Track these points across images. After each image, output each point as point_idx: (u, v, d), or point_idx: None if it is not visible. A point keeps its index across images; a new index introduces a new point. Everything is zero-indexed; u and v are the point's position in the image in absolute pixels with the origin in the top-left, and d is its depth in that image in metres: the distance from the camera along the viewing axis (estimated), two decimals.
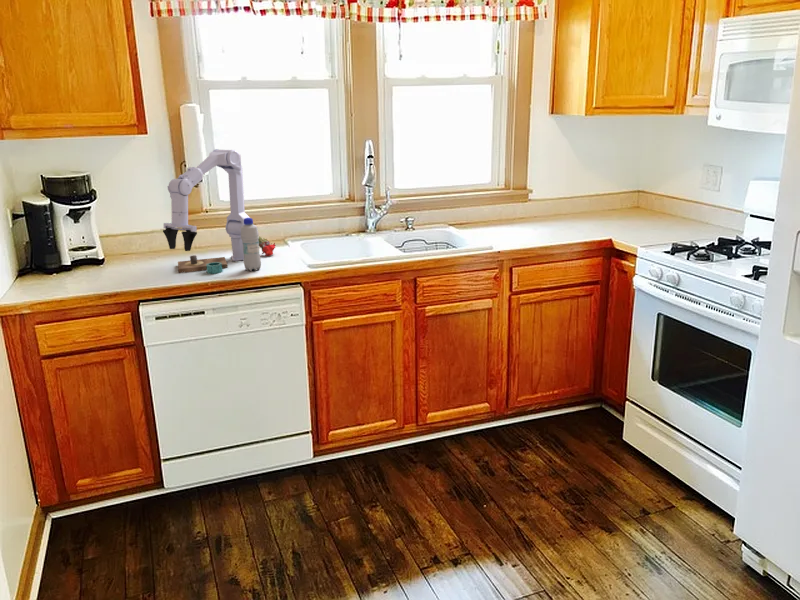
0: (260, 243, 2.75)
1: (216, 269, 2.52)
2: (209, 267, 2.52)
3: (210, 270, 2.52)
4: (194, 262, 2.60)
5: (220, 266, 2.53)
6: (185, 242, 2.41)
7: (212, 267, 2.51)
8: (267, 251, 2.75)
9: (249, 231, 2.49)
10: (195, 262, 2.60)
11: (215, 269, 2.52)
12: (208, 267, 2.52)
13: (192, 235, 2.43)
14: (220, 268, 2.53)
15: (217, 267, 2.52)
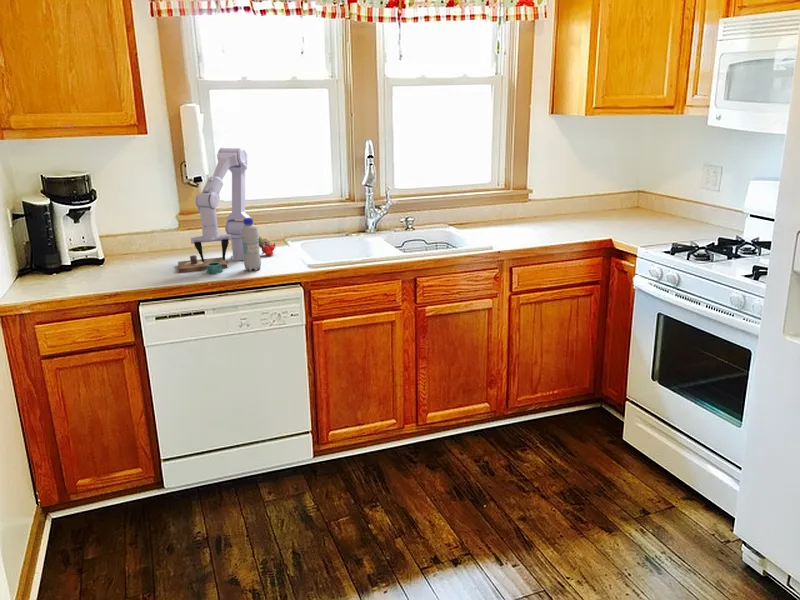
0: (260, 243, 2.75)
1: (216, 269, 2.52)
2: (209, 267, 2.52)
3: (210, 270, 2.52)
4: (194, 262, 2.60)
5: (220, 266, 2.53)
6: (224, 251, 2.52)
7: (212, 267, 2.51)
8: (267, 251, 2.75)
9: (249, 231, 2.49)
10: (195, 262, 2.60)
11: (215, 269, 2.52)
12: (208, 267, 2.52)
13: None
14: (220, 268, 2.53)
15: (217, 267, 2.52)
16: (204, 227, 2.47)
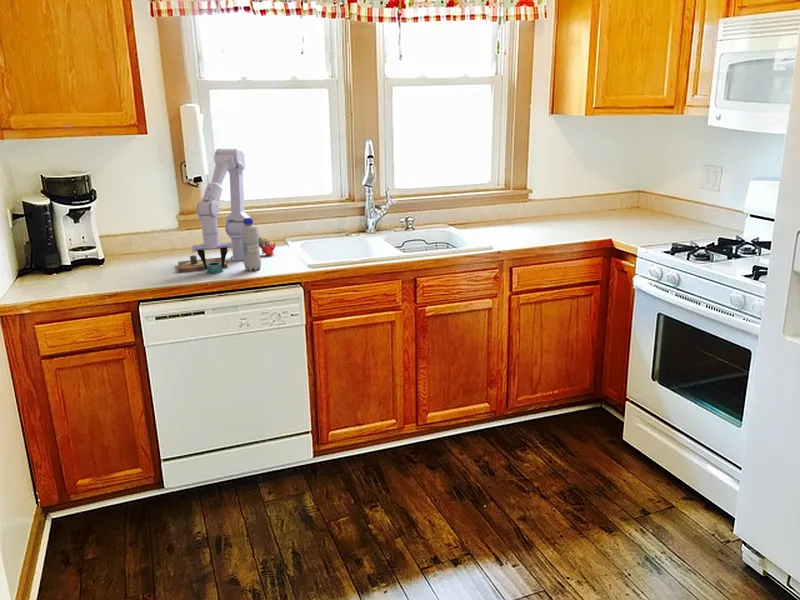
0: (260, 243, 2.75)
1: (216, 269, 2.52)
2: (209, 267, 2.52)
3: (210, 270, 2.52)
4: (194, 262, 2.60)
5: (220, 266, 2.53)
6: (223, 259, 2.53)
7: (212, 267, 2.51)
8: (267, 251, 2.75)
9: (249, 231, 2.49)
10: (195, 262, 2.60)
11: (215, 269, 2.52)
12: (208, 267, 2.52)
13: None
14: (220, 268, 2.53)
15: (217, 267, 2.52)
16: (205, 235, 2.48)
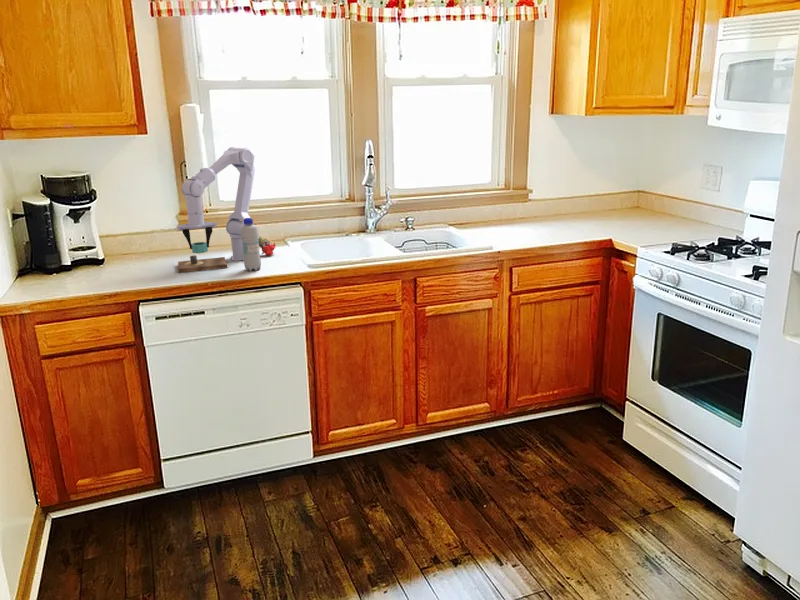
0: (260, 243, 2.75)
1: (201, 248, 2.54)
2: (194, 246, 2.54)
3: (195, 249, 2.54)
4: (194, 262, 2.60)
5: (205, 245, 2.55)
6: (208, 239, 2.55)
7: (197, 246, 2.53)
8: (267, 251, 2.75)
9: (249, 231, 2.49)
10: (195, 262, 2.60)
11: (200, 248, 2.54)
12: (193, 246, 2.54)
13: None
14: (205, 248, 2.55)
15: (202, 246, 2.54)
16: (190, 215, 2.50)
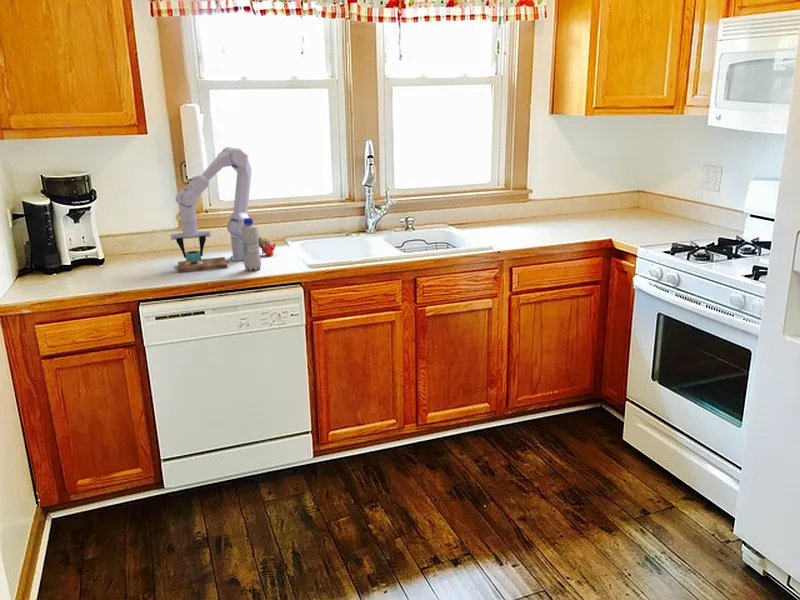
0: (260, 243, 2.75)
1: (195, 257, 2.58)
2: (188, 255, 2.57)
3: (189, 258, 2.58)
4: (194, 262, 2.60)
5: (199, 254, 2.59)
6: (202, 248, 2.59)
7: (191, 255, 2.57)
8: (267, 251, 2.75)
9: (249, 231, 2.49)
10: (195, 262, 2.60)
11: (194, 257, 2.58)
12: (187, 255, 2.58)
13: None
14: (199, 256, 2.59)
15: (196, 255, 2.58)
16: (183, 224, 2.54)
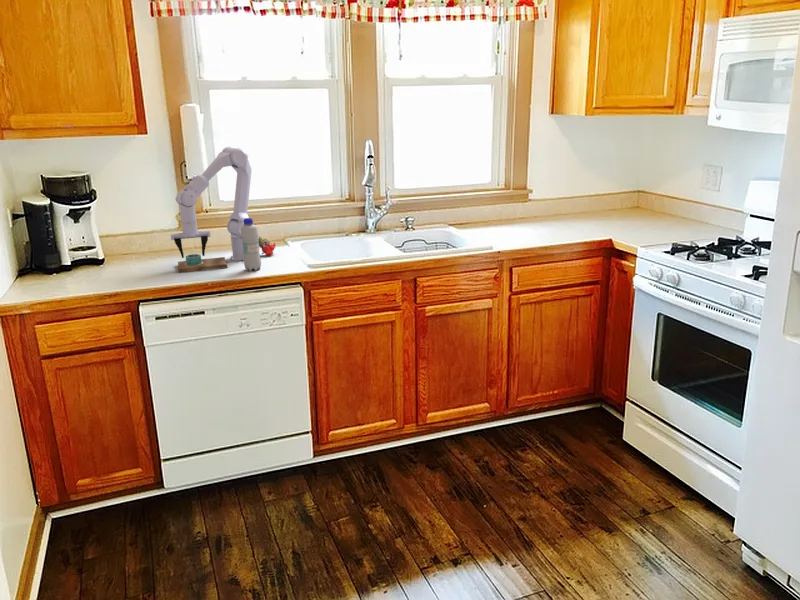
0: (260, 243, 2.75)
1: (195, 261, 2.58)
2: (188, 259, 2.58)
3: (189, 262, 2.58)
4: None
5: (199, 258, 2.59)
6: (204, 248, 2.59)
7: (191, 259, 2.58)
8: (267, 251, 2.75)
9: (249, 231, 2.49)
10: None
11: (194, 261, 2.58)
12: (187, 259, 2.58)
13: None
14: (199, 260, 2.60)
15: (196, 259, 2.58)
16: (183, 224, 2.54)
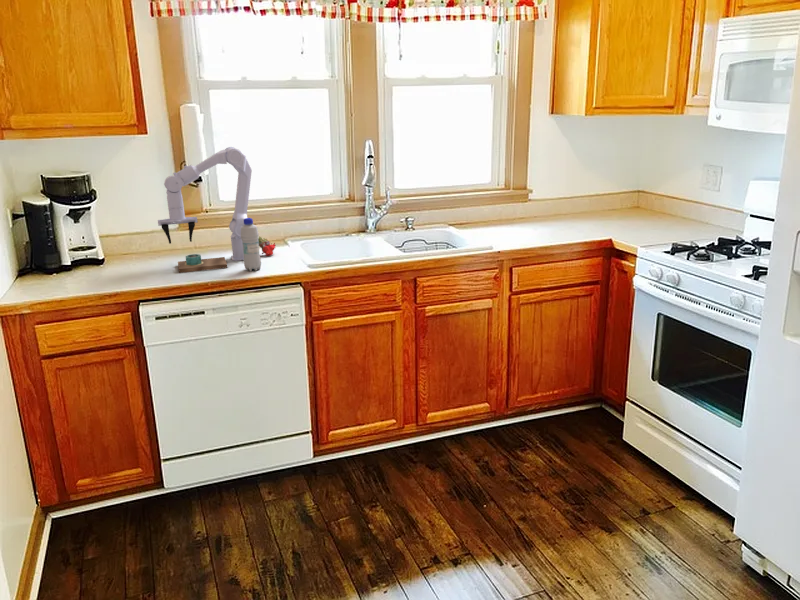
0: (260, 243, 2.75)
1: (195, 261, 2.58)
2: (188, 259, 2.58)
3: (189, 262, 2.58)
4: None
5: (199, 258, 2.59)
6: (191, 233, 2.61)
7: (191, 259, 2.58)
8: (267, 251, 2.75)
9: (249, 231, 2.49)
10: None
11: (194, 261, 2.58)
12: (187, 259, 2.58)
13: None
14: (199, 260, 2.60)
15: (196, 259, 2.58)
16: (170, 209, 2.56)
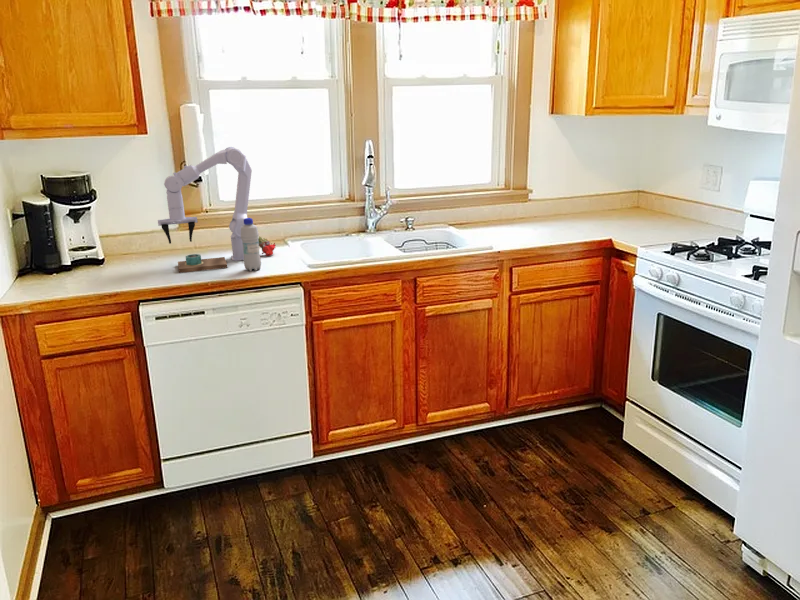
0: (260, 243, 2.75)
1: (195, 261, 2.58)
2: (188, 259, 2.58)
3: (189, 262, 2.58)
4: None
5: (199, 258, 2.59)
6: (191, 233, 2.61)
7: (191, 259, 2.58)
8: (267, 251, 2.75)
9: (249, 231, 2.49)
10: None
11: (194, 261, 2.58)
12: (187, 259, 2.58)
13: None
14: (199, 260, 2.60)
15: (196, 259, 2.58)
16: (170, 209, 2.56)
